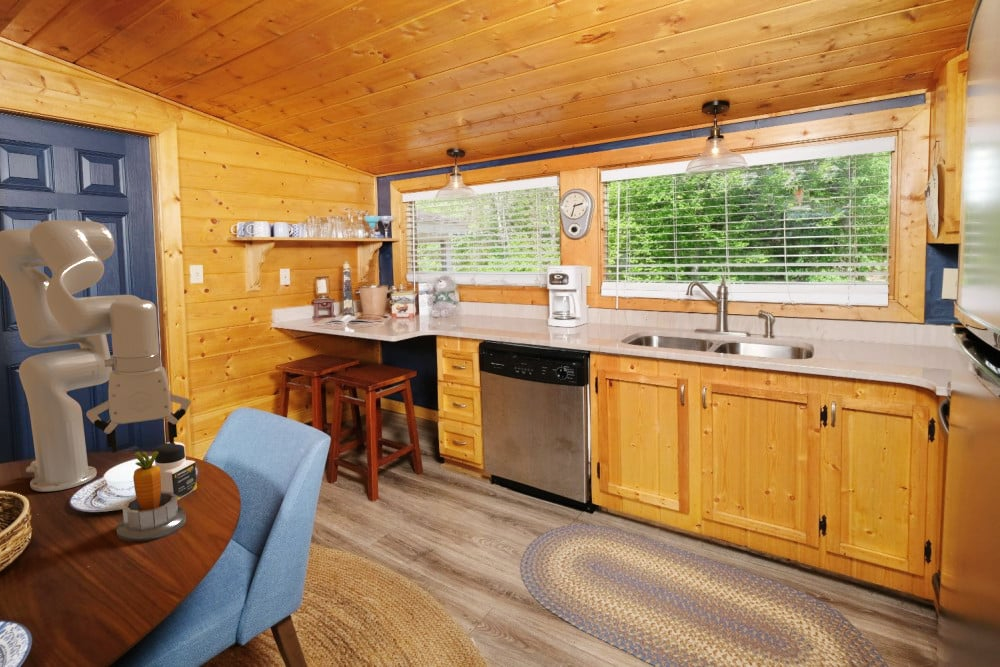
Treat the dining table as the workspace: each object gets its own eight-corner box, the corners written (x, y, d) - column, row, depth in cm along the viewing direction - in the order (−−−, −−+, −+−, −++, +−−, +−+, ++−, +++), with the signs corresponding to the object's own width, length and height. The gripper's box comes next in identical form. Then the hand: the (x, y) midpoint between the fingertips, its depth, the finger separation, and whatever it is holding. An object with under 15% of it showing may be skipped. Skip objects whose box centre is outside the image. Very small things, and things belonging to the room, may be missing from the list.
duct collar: (102, 539, 108) (99, 513, 107) (147, 510, 119) (145, 486, 119) (158, 544, 106) (155, 518, 105) (198, 514, 118) (196, 490, 117)
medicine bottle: (174, 502, 123) (170, 452, 121) (147, 499, 125) (143, 449, 123) (197, 488, 130) (194, 440, 128) (172, 485, 131) (168, 438, 129)
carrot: (169, 512, 116) (164, 445, 113) (158, 525, 111) (152, 455, 108) (144, 513, 115) (138, 446, 112) (132, 526, 110) (124, 455, 107)
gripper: (81, 372, 99) (89, 460, 102) (189, 362, 109) (194, 443, 112) (82, 363, 105) (90, 447, 108) (185, 355, 115) (190, 432, 118)
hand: (143, 445), depth 110 cm, fingers open, 9 cm apart
